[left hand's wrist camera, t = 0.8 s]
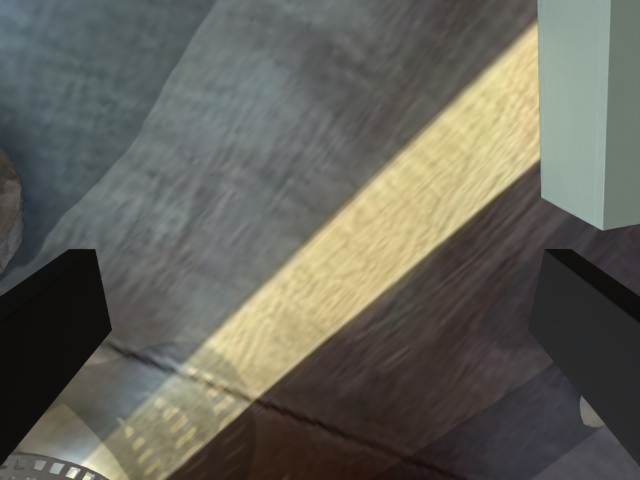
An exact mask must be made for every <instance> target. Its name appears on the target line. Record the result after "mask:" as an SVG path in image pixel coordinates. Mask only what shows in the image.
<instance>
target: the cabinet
mask: <svg viewBox="0 0 640 480" xmlns="http://www.w3.org/2000/svg"><path fill="white" fill-rule="evenodd" d="M537 3H538V53H539V104H540V154H541V197H542V198H544V199H545V200H547V201H549V202H551V203H553V204H555V205H557V206H558V207H560V208H562V209H564V210H566V211H568V212H569V213H571V214H573V215H575V216H577V217H579V218H580V219H582V220H584V221H586V222H588V223H590V224H591V225H593V226H595V227H597V228H599V229H601V230H607V229H613V228H618V227H624V226H629V225H634V224H640V0H537Z"/></svg>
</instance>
